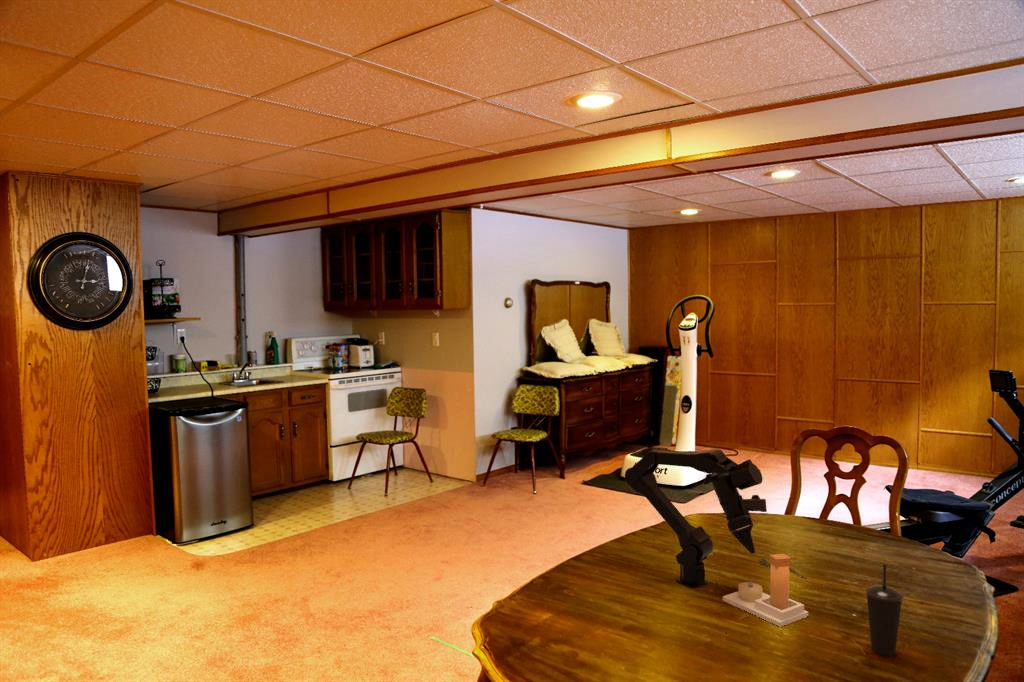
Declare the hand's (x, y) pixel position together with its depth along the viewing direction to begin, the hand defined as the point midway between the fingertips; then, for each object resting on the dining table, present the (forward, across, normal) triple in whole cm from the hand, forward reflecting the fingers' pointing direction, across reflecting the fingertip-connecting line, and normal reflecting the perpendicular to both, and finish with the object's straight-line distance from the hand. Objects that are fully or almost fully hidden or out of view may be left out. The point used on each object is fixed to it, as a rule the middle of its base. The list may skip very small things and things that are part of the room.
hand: (752, 550), depth 186 cm
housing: (+14, -2, +3) cm, 14 cm away
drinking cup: (+27, -17, -18) cm, 37 cm away
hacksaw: (+14, +25, -8) cm, 29 cm away
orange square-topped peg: (+15, -5, 0) cm, 15 cm away
